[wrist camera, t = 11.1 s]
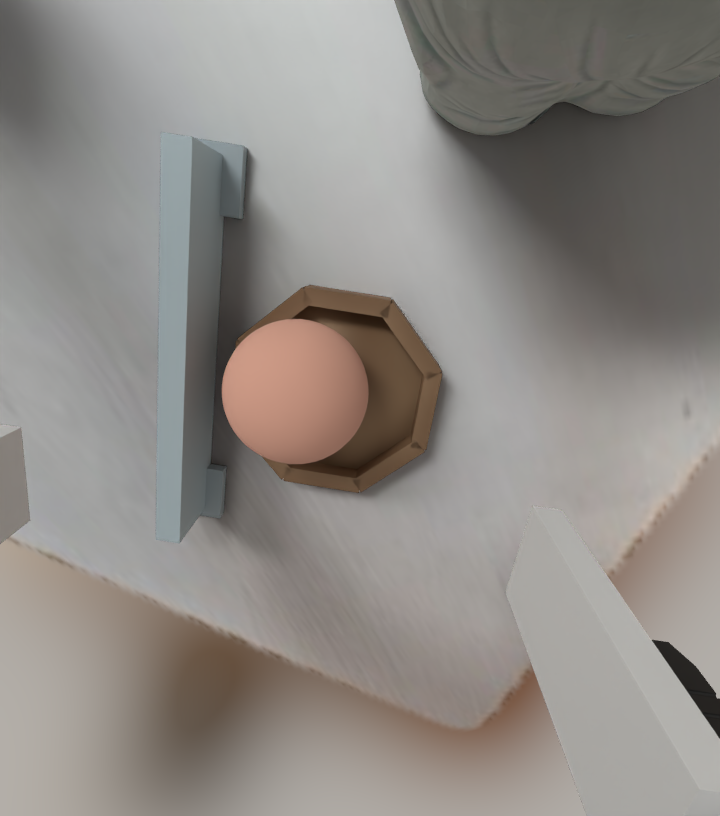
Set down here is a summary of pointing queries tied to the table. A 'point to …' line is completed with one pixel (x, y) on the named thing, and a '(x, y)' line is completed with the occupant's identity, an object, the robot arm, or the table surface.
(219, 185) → the low wall
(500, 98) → the teapot
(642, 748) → the robot arm
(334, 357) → the ball
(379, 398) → the cork ring
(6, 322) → the table surface
